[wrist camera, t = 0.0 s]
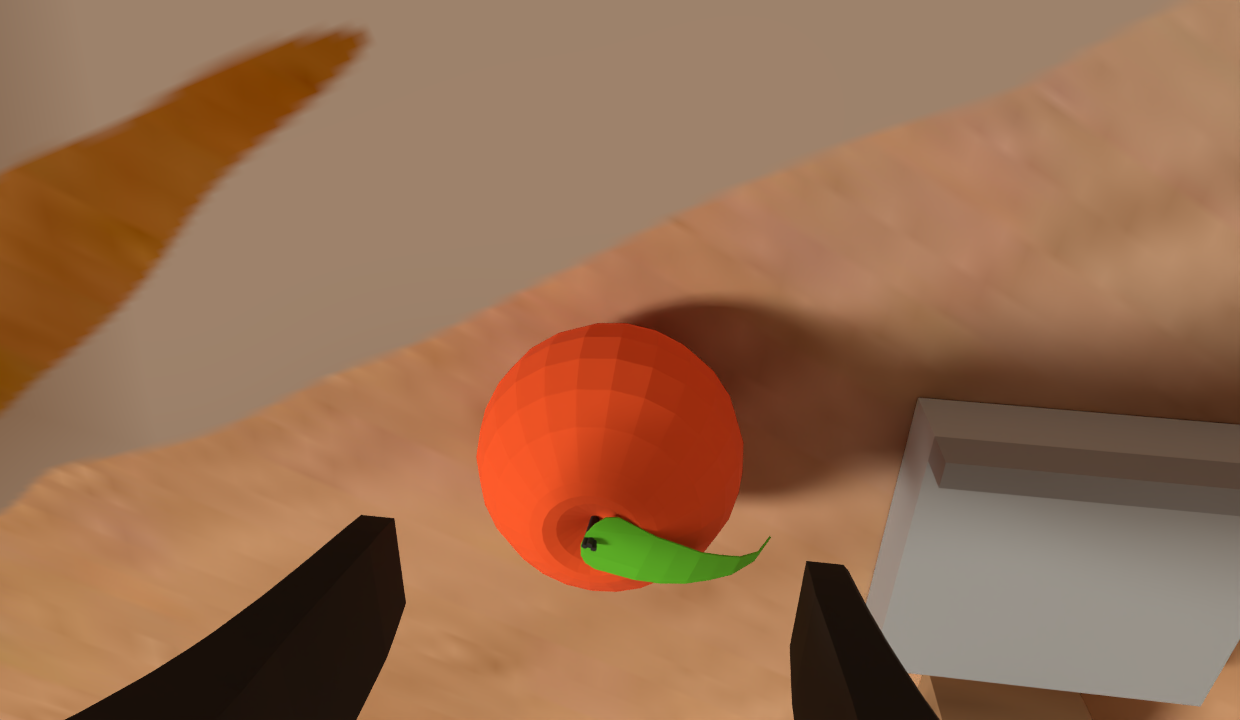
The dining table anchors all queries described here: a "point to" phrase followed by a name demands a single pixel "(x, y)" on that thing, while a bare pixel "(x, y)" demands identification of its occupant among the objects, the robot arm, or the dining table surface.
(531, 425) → the red fruit
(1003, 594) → the dock
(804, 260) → the dining table surface
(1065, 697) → the open wooden crate
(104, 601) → the dining table surface
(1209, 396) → the dining table surface
